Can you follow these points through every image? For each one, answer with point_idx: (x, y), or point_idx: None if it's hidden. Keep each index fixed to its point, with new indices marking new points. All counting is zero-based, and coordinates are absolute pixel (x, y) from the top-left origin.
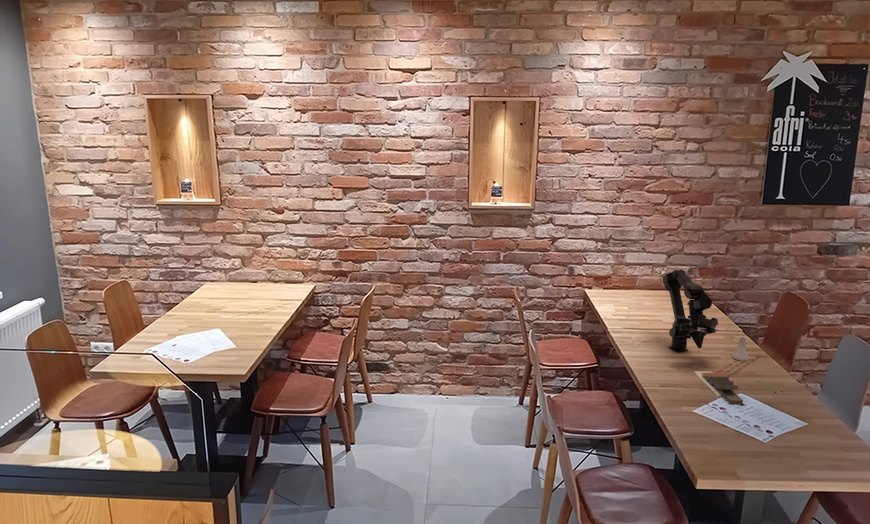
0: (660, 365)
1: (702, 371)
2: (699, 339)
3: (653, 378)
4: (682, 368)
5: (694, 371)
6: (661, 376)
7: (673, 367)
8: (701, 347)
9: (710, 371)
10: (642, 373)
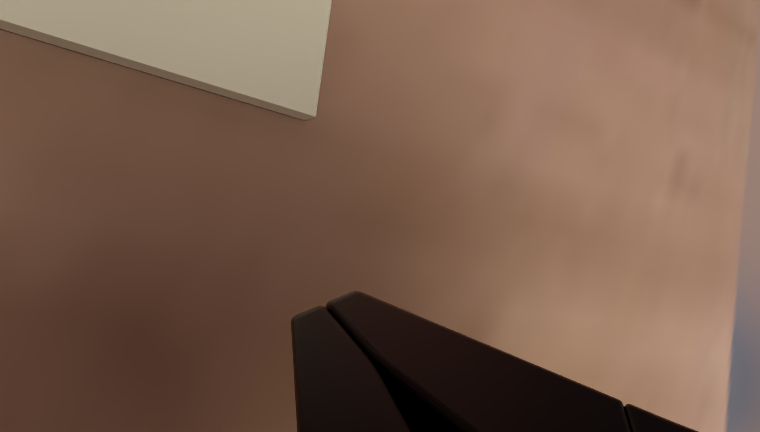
0: None
1: (172, 67)
2: (670, 423)
3: (693, 97)
4: (371, 288)
5: (305, 102)
6: (637, 117)
7: (459, 332)
8: (296, 322)
9: (1, 18)
10: (721, 215)
